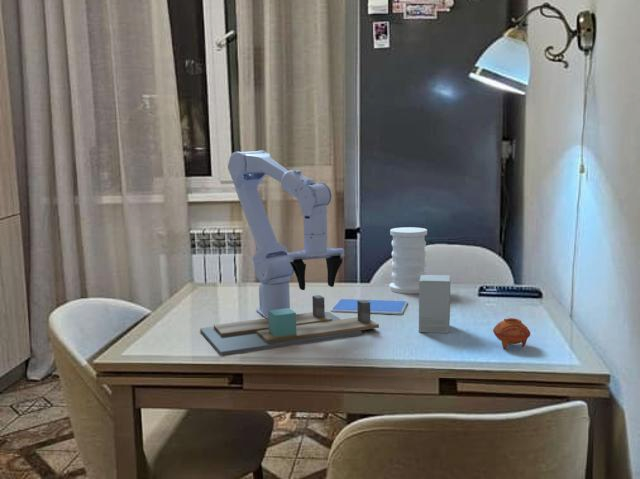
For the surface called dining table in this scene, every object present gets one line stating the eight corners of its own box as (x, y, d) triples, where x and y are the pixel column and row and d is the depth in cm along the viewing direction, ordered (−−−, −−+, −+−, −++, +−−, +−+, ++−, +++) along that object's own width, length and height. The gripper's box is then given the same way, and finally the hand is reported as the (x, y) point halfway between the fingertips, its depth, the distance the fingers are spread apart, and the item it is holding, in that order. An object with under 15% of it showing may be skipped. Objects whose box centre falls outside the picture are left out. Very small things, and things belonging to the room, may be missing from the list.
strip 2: (256, 334, 164) (256, 310, 163) (364, 319, 175) (363, 297, 174) (267, 343, 157) (266, 318, 156) (378, 327, 167) (378, 304, 167)
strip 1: (213, 328, 170) (212, 305, 169) (320, 314, 180) (319, 292, 180) (222, 336, 163) (220, 312, 162) (332, 322, 173) (332, 299, 172)
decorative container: (387, 293, 205) (387, 232, 203) (390, 284, 217) (390, 226, 214) (427, 294, 203) (428, 232, 201) (428, 285, 215) (428, 227, 212)
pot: (483, 342, 156) (489, 313, 156) (511, 346, 159) (517, 317, 159) (504, 351, 149) (511, 320, 149) (534, 355, 152) (540, 325, 152)
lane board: (200, 331, 170) (200, 328, 170) (328, 314, 183) (328, 311, 183) (220, 355, 152) (220, 351, 152) (361, 335, 165) (361, 331, 165)
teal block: (269, 331, 164) (268, 310, 163) (289, 328, 166) (288, 307, 165) (275, 336, 159) (275, 315, 158) (296, 334, 161) (295, 312, 160)
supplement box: (449, 333, 165) (450, 281, 162) (418, 332, 166) (418, 280, 164) (450, 325, 172) (450, 274, 170) (419, 323, 173) (420, 274, 171)
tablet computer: (329, 314, 186) (329, 309, 186) (339, 302, 198) (339, 297, 198) (402, 317, 182) (402, 312, 181) (408, 305, 194) (408, 300, 193)
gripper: (293, 237, 164) (294, 294, 167) (349, 233, 170) (350, 287, 172) (283, 233, 171) (284, 288, 173) (337, 229, 176) (338, 282, 178)
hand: (316, 287), depth 173 cm, fingers open, 7 cm apart
